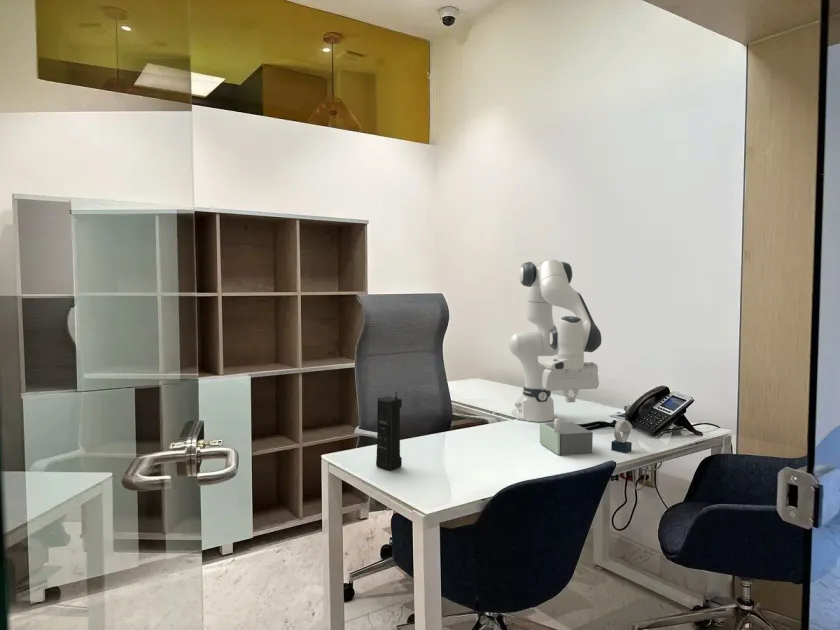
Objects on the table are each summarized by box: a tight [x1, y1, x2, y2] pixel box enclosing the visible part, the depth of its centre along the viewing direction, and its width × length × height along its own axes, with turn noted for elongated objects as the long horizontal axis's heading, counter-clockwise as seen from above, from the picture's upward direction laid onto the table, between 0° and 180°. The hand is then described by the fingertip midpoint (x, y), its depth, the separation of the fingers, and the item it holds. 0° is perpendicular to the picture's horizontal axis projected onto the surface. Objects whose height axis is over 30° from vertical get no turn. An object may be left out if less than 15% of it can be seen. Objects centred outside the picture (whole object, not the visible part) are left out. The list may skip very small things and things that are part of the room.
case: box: [544, 421, 594, 456], centre depth 198 cm, size 15×12×8 cm
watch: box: [610, 419, 633, 454], centre depth 195 cm, size 6×8×11 cm
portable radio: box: [375, 392, 403, 472], centre depth 178 cm, size 8×6×25 cm
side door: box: [539, 418, 561, 456], centre depth 197 cm, size 15×2×12 cm, turn 12°
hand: (570, 402), depth 191 cm, fingers closed
